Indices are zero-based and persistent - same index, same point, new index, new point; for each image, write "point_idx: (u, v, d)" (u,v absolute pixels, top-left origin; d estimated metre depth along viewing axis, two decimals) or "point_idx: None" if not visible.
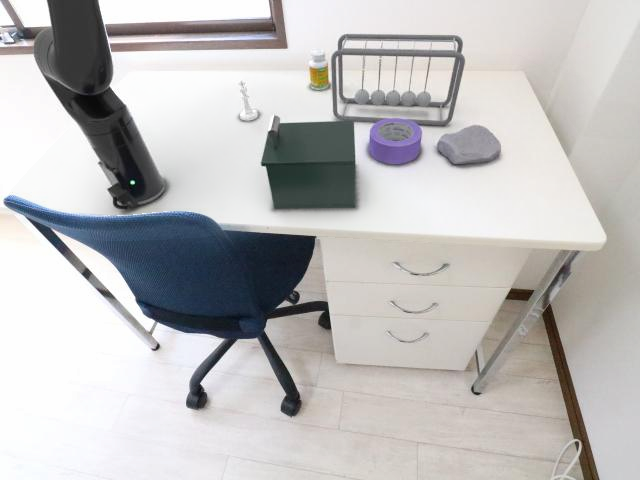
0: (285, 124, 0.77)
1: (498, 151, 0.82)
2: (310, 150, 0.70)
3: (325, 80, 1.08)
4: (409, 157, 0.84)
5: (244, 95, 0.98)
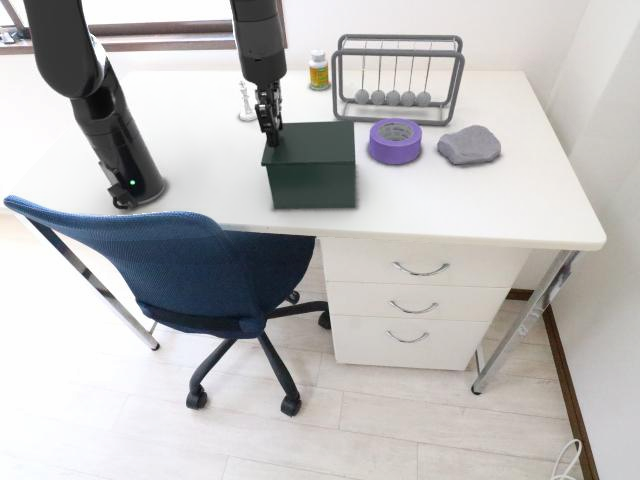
0: (285, 124, 0.77)
1: (498, 151, 0.82)
2: (310, 150, 0.70)
3: (325, 80, 1.08)
4: (409, 157, 0.84)
5: (244, 95, 0.98)
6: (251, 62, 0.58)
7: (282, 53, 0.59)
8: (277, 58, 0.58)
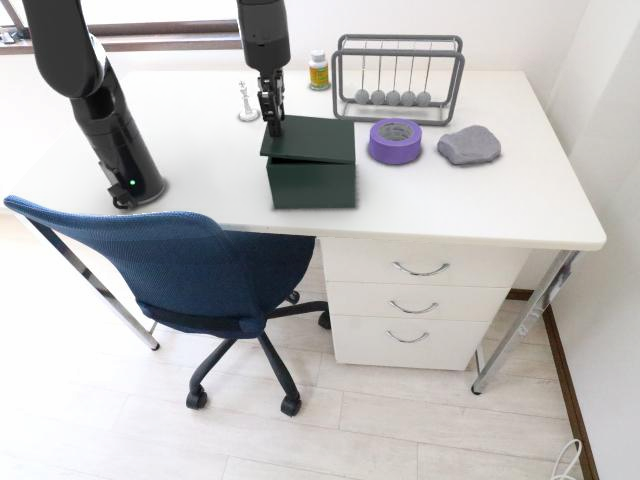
0: (285, 116, 0.75)
1: (498, 151, 0.82)
2: (310, 145, 0.69)
3: (325, 80, 1.08)
4: (409, 157, 0.84)
5: (244, 95, 0.98)
6: (254, 47, 0.56)
7: (286, 39, 0.58)
8: (281, 44, 0.57)
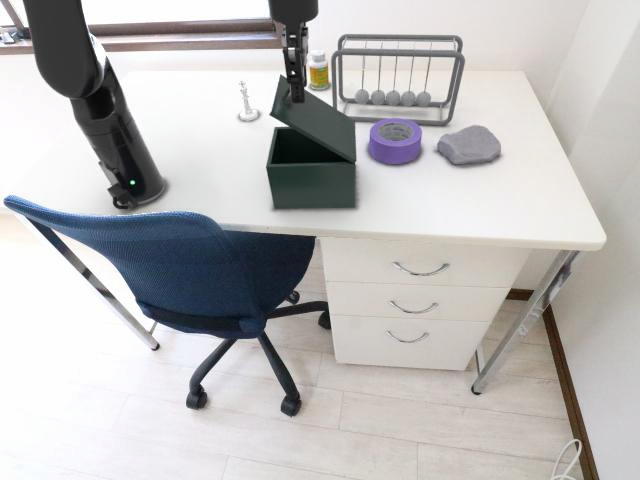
0: None
1: (498, 151, 0.82)
2: (318, 127, 0.66)
3: (325, 80, 1.08)
4: (409, 157, 0.84)
5: (244, 95, 0.98)
6: None
7: None
8: None
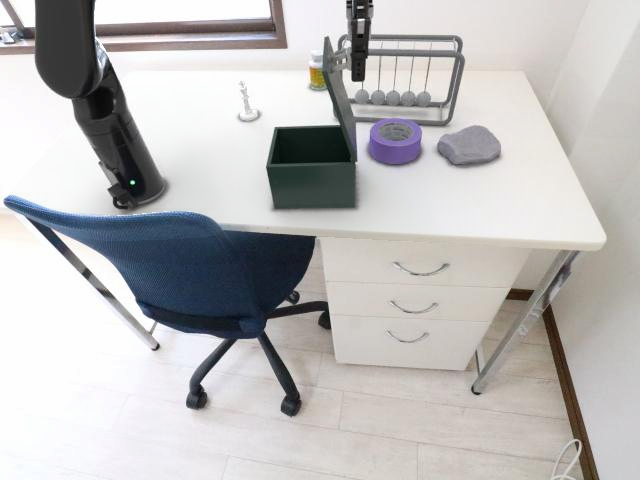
0: (334, 55, 0.66)
1: (498, 151, 0.82)
2: (344, 111, 0.64)
3: None
4: (409, 157, 0.84)
5: (244, 95, 0.98)
6: None
7: None
8: None
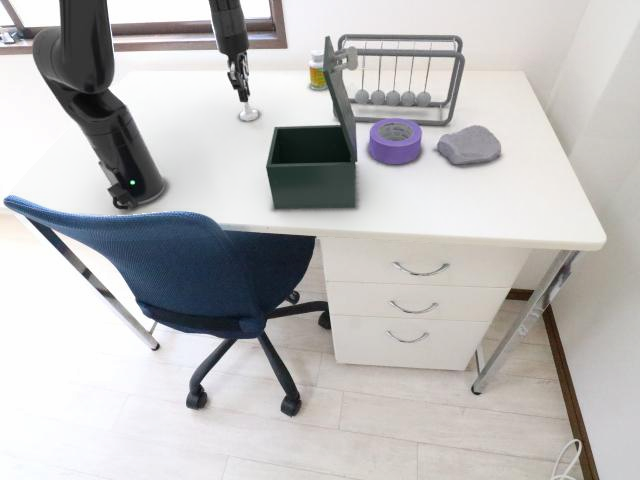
0: (335, 55, 0.66)
1: (498, 151, 0.82)
2: (344, 111, 0.64)
3: None
4: (409, 157, 0.84)
5: None
6: (222, 39, 0.84)
7: (244, 33, 0.86)
8: (241, 36, 0.85)
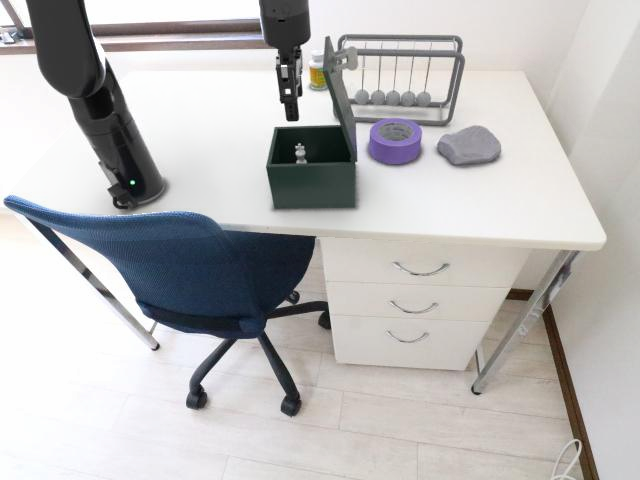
0: (335, 55, 0.66)
1: (498, 151, 0.82)
2: (344, 111, 0.64)
3: None
4: (409, 157, 0.84)
5: (301, 161, 0.76)
6: (274, 23, 0.54)
7: (307, 14, 0.55)
8: (302, 19, 0.54)
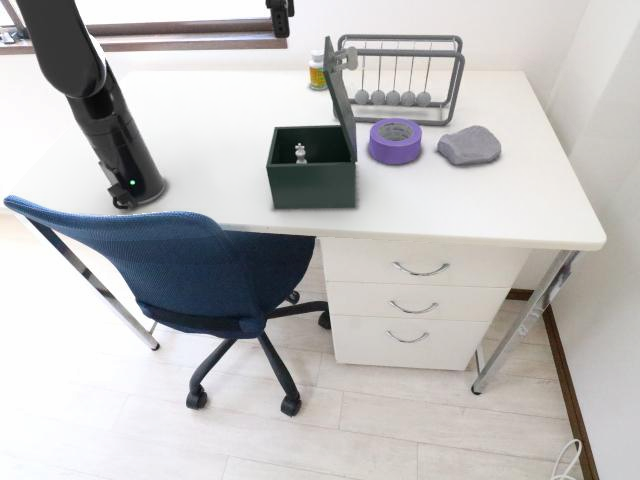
0: (335, 55, 0.66)
1: (498, 151, 0.82)
2: (344, 111, 0.64)
3: None
4: (409, 157, 0.84)
5: (301, 161, 0.76)
6: None
7: None
8: None
